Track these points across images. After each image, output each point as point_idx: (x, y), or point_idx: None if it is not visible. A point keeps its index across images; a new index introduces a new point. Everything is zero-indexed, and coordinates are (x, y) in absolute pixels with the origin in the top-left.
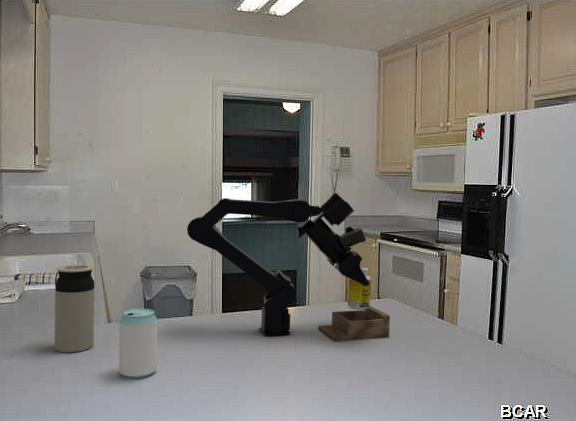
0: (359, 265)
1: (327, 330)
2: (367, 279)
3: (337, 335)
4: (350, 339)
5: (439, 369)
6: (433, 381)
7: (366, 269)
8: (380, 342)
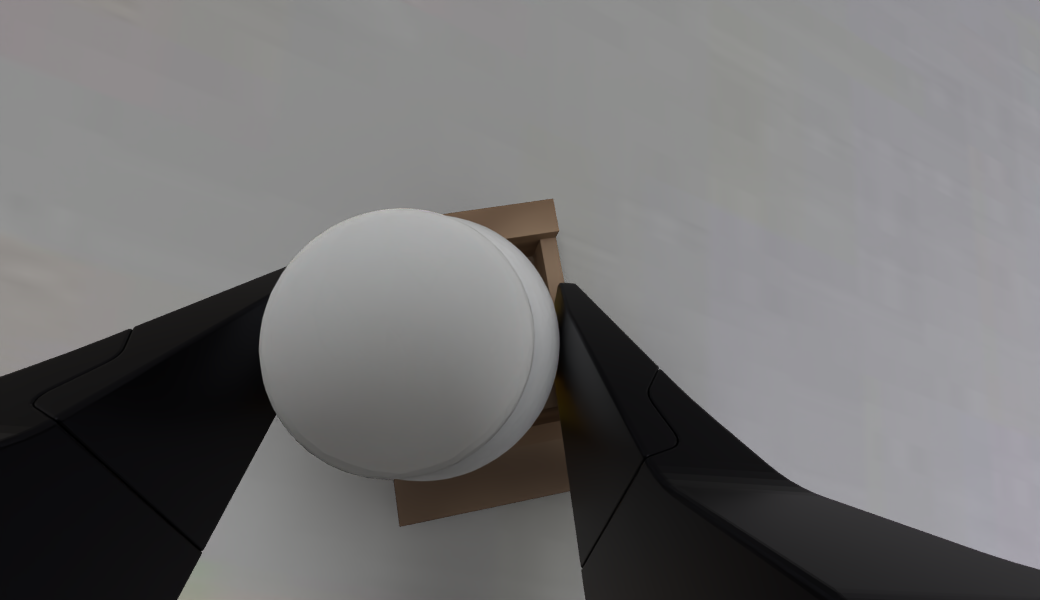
0: (833, 511)
1: (483, 497)
2: (544, 285)
3: (563, 467)
4: None
5: (870, 201)
6: (962, 264)
7: (503, 262)
8: (602, 291)
